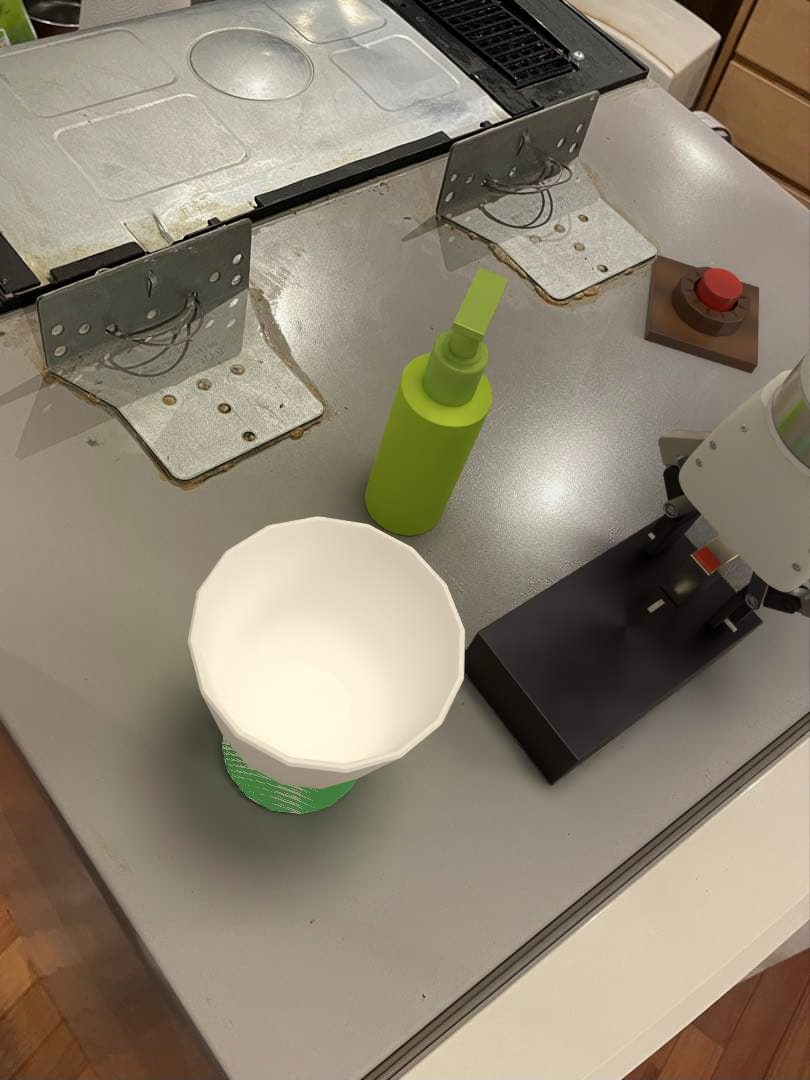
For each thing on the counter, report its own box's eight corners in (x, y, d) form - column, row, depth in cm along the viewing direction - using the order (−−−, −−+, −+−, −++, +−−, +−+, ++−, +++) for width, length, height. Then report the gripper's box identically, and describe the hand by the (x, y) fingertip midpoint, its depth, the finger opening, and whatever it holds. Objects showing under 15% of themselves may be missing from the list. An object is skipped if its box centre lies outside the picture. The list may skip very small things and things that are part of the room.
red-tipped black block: (703, 557, 69) (736, 522, 65) (721, 577, 68) (755, 542, 65) (660, 586, 67) (692, 552, 63) (678, 607, 66) (711, 573, 62)
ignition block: (652, 263, 92) (666, 239, 89) (753, 296, 92) (769, 272, 90) (644, 340, 86) (658, 316, 84) (751, 373, 87) (768, 351, 84)
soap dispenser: (457, 477, 74) (543, 286, 58) (428, 548, 71) (510, 366, 54) (386, 446, 75) (450, 247, 58) (352, 515, 71) (411, 324, 54)
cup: (417, 844, 60) (490, 760, 47) (185, 866, 56) (192, 783, 43) (387, 637, 66) (444, 513, 53) (178, 646, 63) (183, 515, 50)
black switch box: (654, 537, 75) (684, 501, 71) (744, 639, 72) (782, 608, 68) (456, 663, 67) (477, 630, 62) (550, 786, 63) (579, 760, 59)
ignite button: (695, 277, 88) (704, 262, 87) (733, 289, 88) (743, 275, 87) (693, 305, 86) (703, 290, 85) (732, 317, 86) (742, 303, 85)
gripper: (1007, 509, 51) (814, 651, 67) (775, 287, 57) (645, 466, 72) (928, 573, 48) (744, 708, 63) (690, 331, 53) (572, 509, 68)
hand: (693, 578), depth 67 cm, fingers open, 5 cm apart
